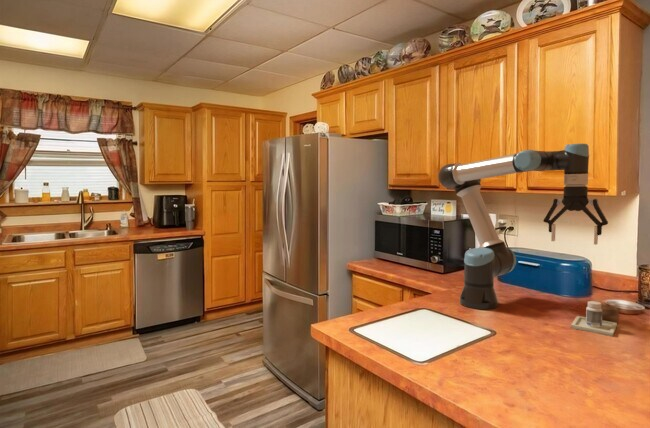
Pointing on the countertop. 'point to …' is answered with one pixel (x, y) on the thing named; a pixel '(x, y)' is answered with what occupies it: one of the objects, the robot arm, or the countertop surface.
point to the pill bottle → (594, 314)
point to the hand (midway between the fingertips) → (573, 242)
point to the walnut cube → (610, 313)
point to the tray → (606, 328)
